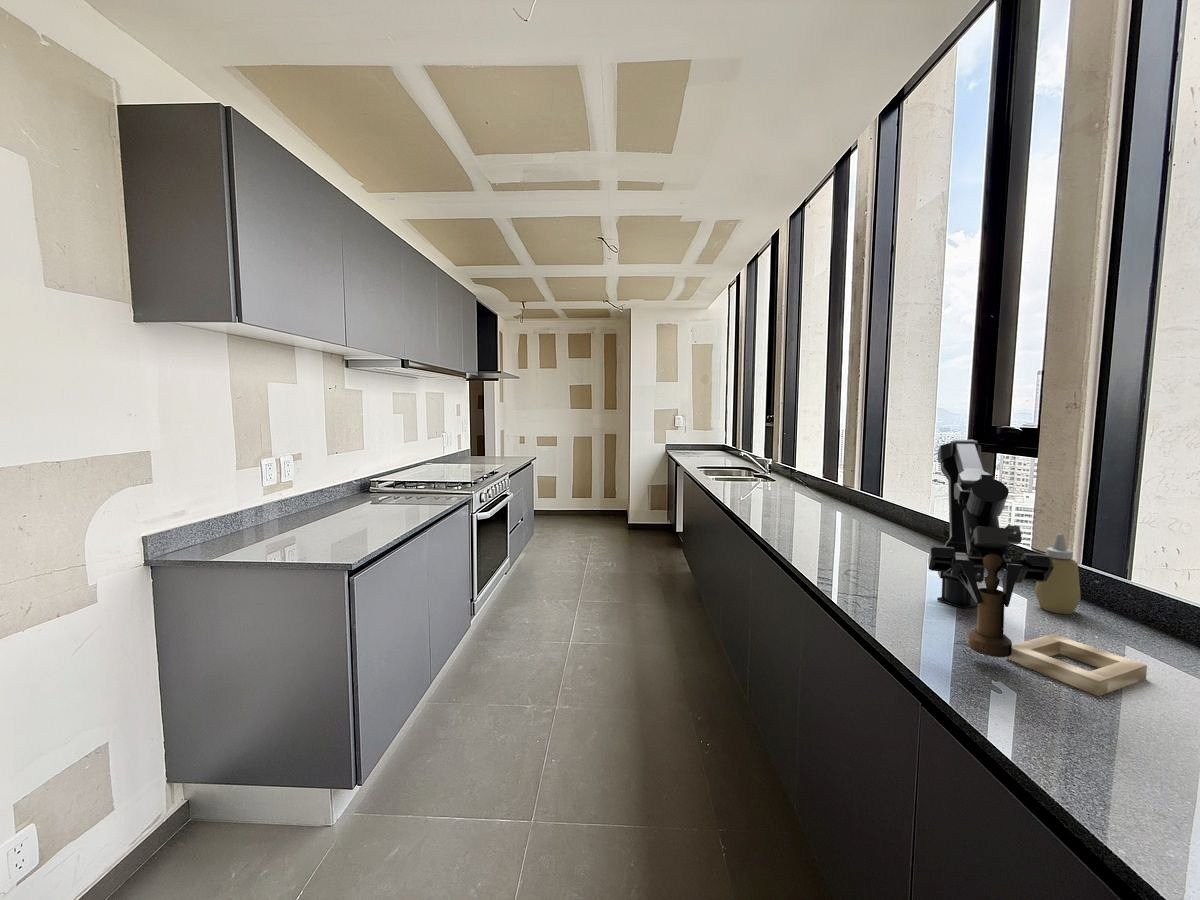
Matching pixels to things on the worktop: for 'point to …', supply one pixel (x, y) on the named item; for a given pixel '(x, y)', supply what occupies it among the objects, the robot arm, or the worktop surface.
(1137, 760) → the worktop surface
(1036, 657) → the frame
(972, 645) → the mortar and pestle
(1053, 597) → the squeeze bottle
